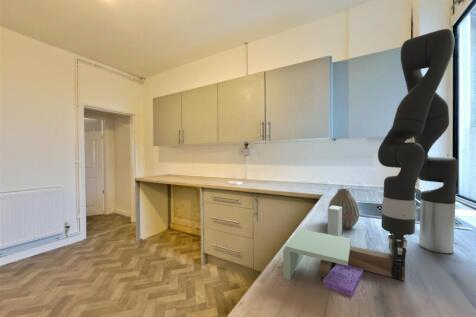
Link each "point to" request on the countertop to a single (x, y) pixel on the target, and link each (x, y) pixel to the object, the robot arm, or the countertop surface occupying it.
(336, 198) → the vase
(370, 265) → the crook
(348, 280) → the sponges
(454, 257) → the countertop surface
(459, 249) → the countertop surface
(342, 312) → the countertop surface
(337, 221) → the skincare box
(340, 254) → the wall shelf
